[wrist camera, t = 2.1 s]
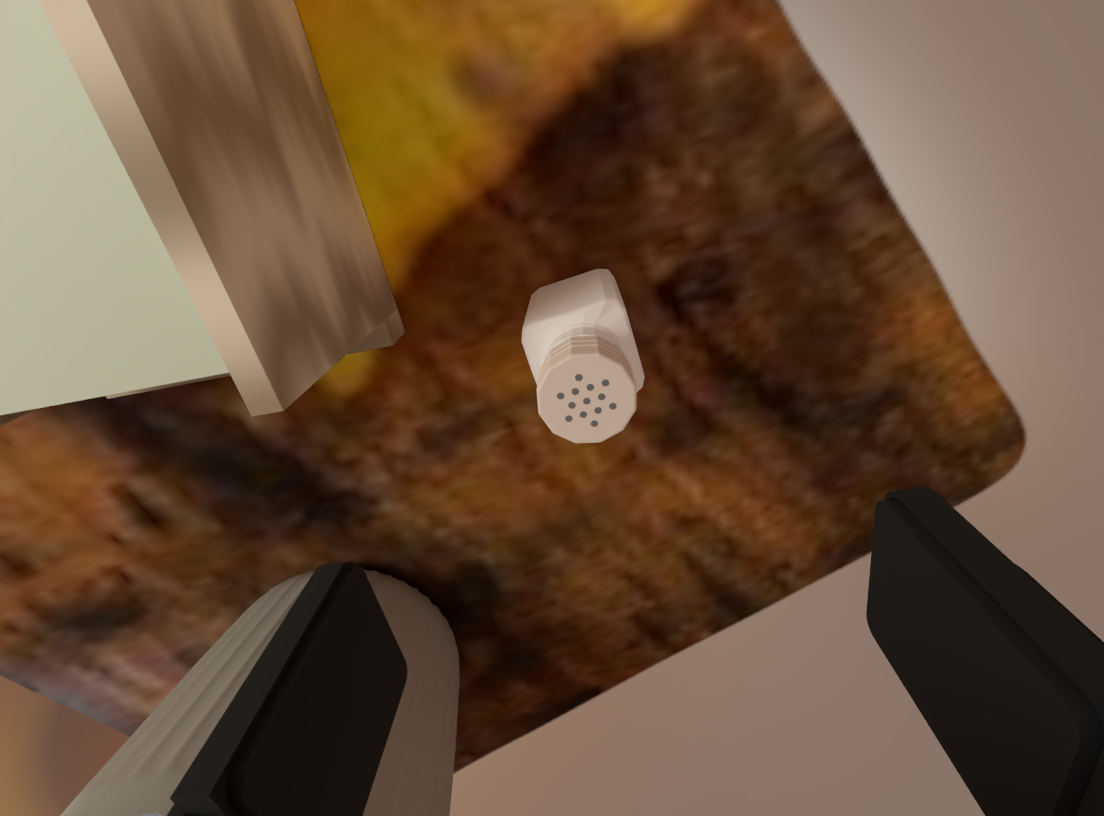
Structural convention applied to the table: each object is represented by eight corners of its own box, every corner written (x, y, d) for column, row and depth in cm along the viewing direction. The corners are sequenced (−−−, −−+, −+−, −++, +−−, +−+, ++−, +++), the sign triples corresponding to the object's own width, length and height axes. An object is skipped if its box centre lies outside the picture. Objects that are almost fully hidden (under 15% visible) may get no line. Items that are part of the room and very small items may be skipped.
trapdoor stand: (-133, -67, 19) (-894, -308, 9) (231, -184, 17) (-218, -634, 7) (138, 382, 27) (-112, 514, 17) (405, 332, 25) (300, 446, 15)
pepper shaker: (527, 288, 24) (504, 362, 16) (609, 261, 23) (632, 323, 15) (554, 364, 26) (546, 468, 17) (632, 341, 25) (663, 437, 17)
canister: (368, 739, 40) (189, 1257, 21) (172, 602, 34) (-320, 1157, 15) (552, 650, 35) (532, 1229, 16) (361, 468, 29) (-32, 1062, 10)
